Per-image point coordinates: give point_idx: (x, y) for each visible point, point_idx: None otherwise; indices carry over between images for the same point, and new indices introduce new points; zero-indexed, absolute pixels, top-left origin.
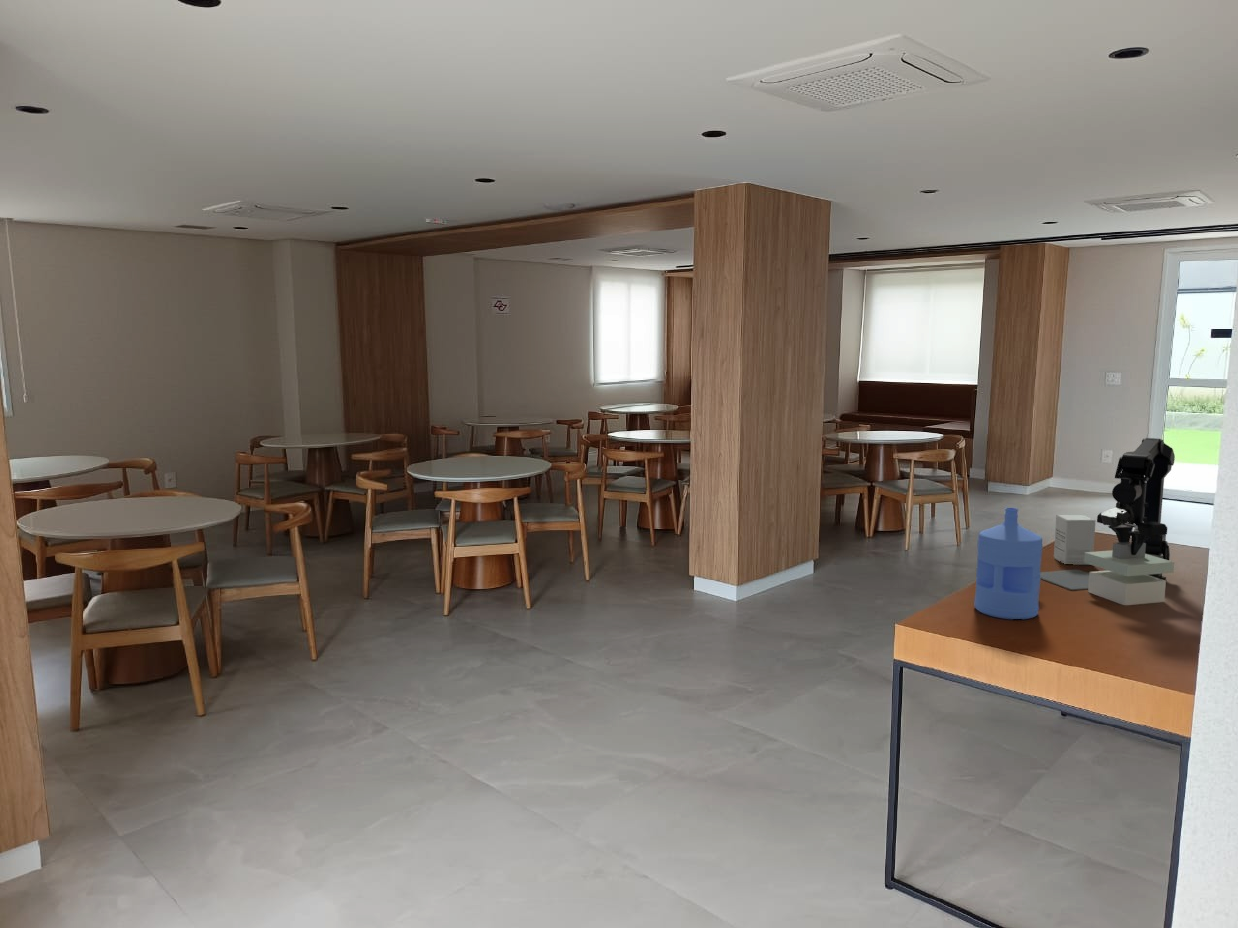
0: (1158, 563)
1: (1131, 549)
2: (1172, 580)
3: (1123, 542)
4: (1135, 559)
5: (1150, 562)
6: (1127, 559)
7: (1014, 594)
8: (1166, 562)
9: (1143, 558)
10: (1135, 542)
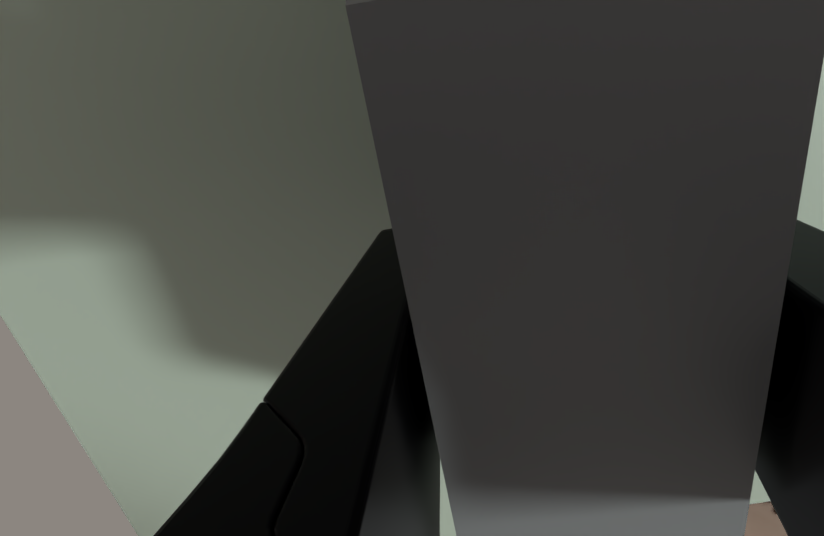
0: (56, 396)
1: (402, 282)
2: (755, 532)
3: (729, 317)
4: (319, 205)
5: (89, 319)
6: (318, 41)
7: None
8: (121, 504)
9: None
10: (228, 472)
